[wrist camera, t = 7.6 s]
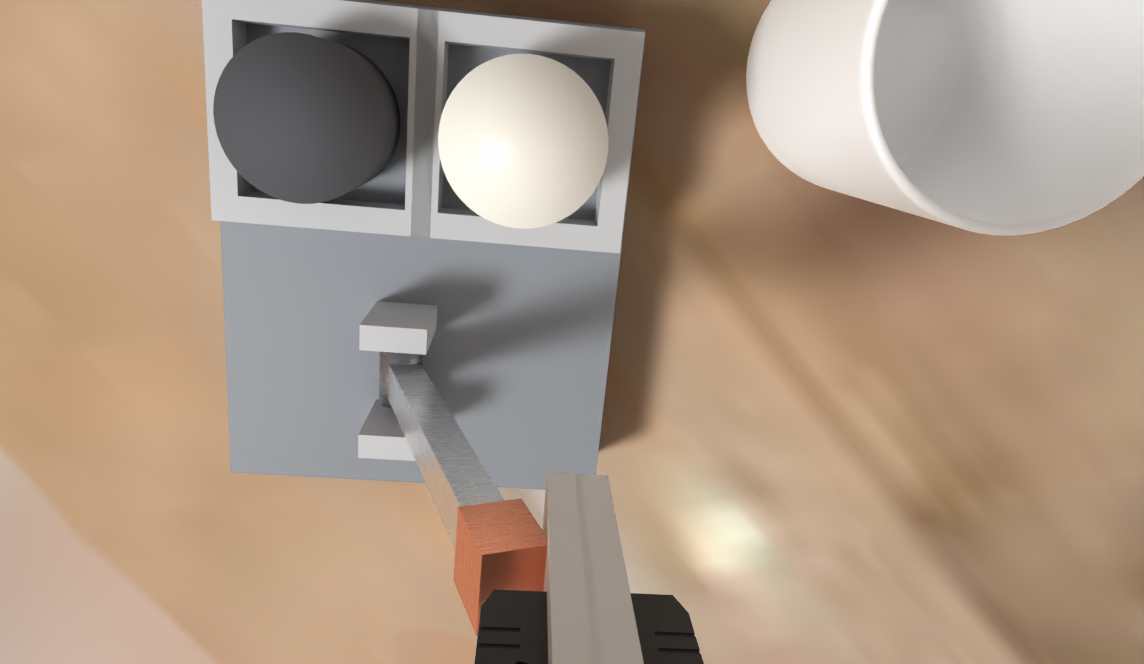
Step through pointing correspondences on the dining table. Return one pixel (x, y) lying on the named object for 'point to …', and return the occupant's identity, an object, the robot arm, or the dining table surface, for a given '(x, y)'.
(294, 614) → the dining table surface
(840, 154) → the mug
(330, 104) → the button black
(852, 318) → the dining table surface
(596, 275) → the panel
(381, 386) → the lever
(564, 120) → the button ivory
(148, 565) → the dining table surface
